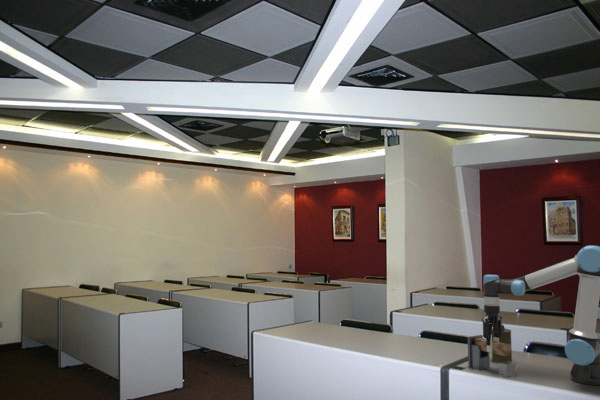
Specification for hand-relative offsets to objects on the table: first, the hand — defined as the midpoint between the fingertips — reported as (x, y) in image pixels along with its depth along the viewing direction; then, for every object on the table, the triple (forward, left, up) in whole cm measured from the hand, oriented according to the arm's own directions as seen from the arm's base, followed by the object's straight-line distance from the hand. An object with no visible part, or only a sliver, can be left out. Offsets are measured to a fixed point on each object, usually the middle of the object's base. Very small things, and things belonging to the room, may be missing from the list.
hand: (493, 351), depth 237 cm
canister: (+10, -22, -10) cm, 26 cm away
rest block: (-8, 0, -10) cm, 13 cm away
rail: (0, 0, 0) cm, 1 cm away
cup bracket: (+9, 0, -10) cm, 14 cm away
